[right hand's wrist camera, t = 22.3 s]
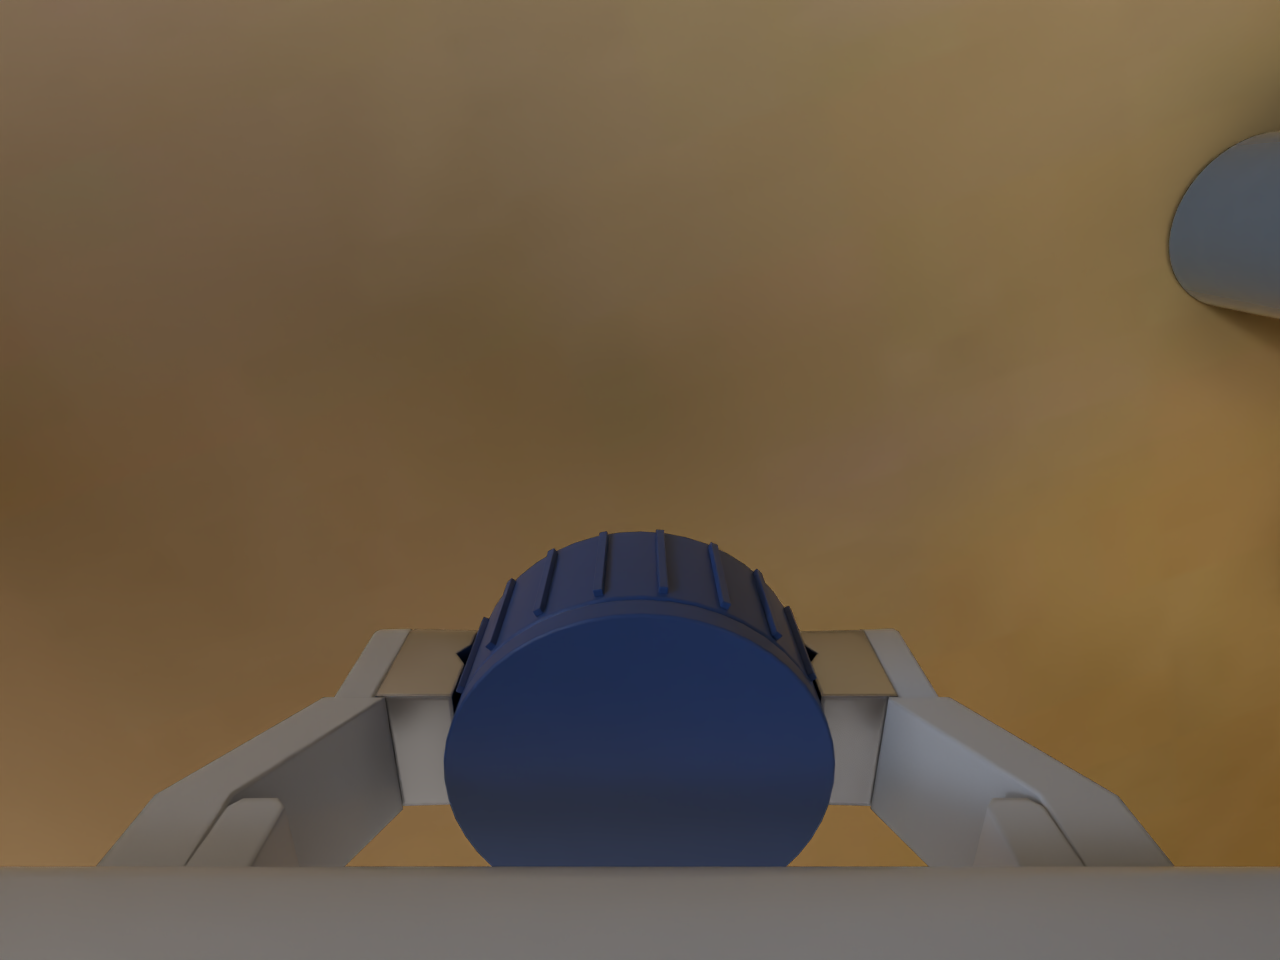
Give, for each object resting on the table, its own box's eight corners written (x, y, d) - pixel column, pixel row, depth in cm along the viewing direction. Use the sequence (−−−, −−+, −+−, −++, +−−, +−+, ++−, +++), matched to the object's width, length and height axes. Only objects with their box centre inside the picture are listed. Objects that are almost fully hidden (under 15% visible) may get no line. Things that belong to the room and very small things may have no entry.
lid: (741, 822, 12) (763, 951, 10) (450, 761, 11) (408, 883, 9) (851, 573, 10) (905, 666, 8) (513, 487, 9) (479, 564, 7)
